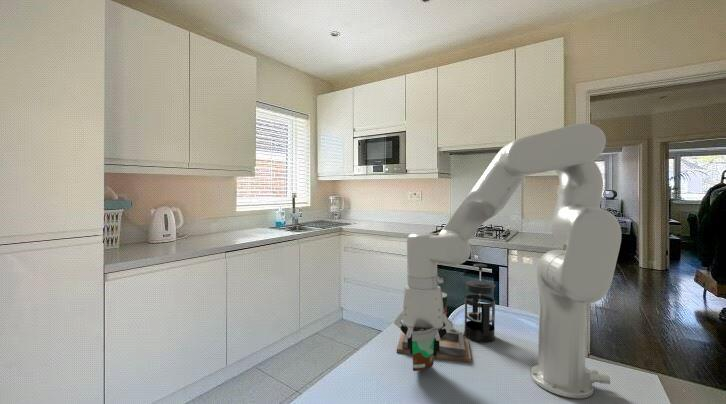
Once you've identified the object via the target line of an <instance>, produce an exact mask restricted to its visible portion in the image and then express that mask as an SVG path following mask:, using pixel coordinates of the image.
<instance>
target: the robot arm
mask: <svg viewBox="0 0 726 404" xmlns="http://www.w3.org/2000/svg"><path fill="white" fill-rule="evenodd" d="M606 143H607V138H606V135H605V133H604V131H603V130H602V129H601V128H600V127H599V126H597V125H595V124H592V123H588V122H580V123H575V124H570V125H566V126H563V127H559V128H555V129H551V130H547V131H543V132H540V133H536V134H535V133H534V134H531V135H527V136H522V137H519V138H516V139H514V140H513V141H511V142H509V143H507V144H506V145H504V146H503V147H502V148H501V149H500V150H499V151H498V152H497V154H496V155H495V156H494V157H493V159H492V161H491V162H490V163H489V165H488V166H487V168H486V169H485V170H484V172H483V174H482V175H481V176H480V178H479V179H478V181H476V183H475V185H474V186H473V188H472V189H471V190H470V192H469V193H468V194H467V196H466V197H465V198H464V200H463V201H462V202H461V204H460V205H459V206H458V208H457V209H456V210H455V211H454V213H453V214H452V215H451V217H450V218H449V219H448V221H447V222H446V224H445V225H444V227H442V229H441V230H440V232H439V234H438V235H435V234H434V233H429V232H414V233H409V234H408V236H407V238H406V262H407V265H406V266H407V269H406V271H407V272H406V273H407V284H405V285H404V291H403V297H402V298H403V300H402V310H401V312H400V313H399V314H398V315H397V316H396V317H395V319H394V322H393V324H394V325H395V326H397V328H399V329H400V331H401V333H402V332H403V333H404V334H405V335H406V337H407V338H408V349H410V354H409V355H413V349H412V331H413V328H414V327H416V328H428V329H431V328H433V327H434V329H436V331H437V335H436V336H435V340H434V356H436V357H437V352H439V340H440V339H441V338H442V337H443V336H444V335H445V334H446V333H447V332H449V331H452V330H453V329H454V324H453V322H452V321H451V319H449V318H448V317H447V316H448V315H447V316H446V315H445V314H444V313H443V298H442V292H443V291H442V288H441V286H440V285H439V284H441V285H443V284H444V277H439V276H438V264H445V265H451V266H459V265H461V264H463V263H465V262H466V261H468V260H469V258H470V257H471V252H472V251H471V250H472V249H471V245H470V243H469V241H470V240H471V238H472V237H473V235H474V234H475V233H476V232H477V230H478V229H479V228H480V227H481V226H482V225H483V224H484V223H485V222H487V221H488V220H490V219H492V218H493V217H495V216H497V215H498V214H499V213H500V212H501V211H502V210H503V209H504V208H505V207H506V205H507V203H508V202H509V201H510V199H511V198H512V196H513V195H514V194H515V192H516V191H517V190H518V188H519V187H520V186H521V184H522V182H523V181H524V180H525V179H526V177H527V176H531V175H537V174H540V173H541V174H542V173H546V172H547V173H548V172H551V171H552V172H553V171H555V173H556V174H557V177H558V183H559V186H558V194H557V197H556V201H555V202H556V203H555V207H554V212H553V215H552V220H551V227H550V231H551V234H552V236H553V237H554V239H555V240H556V241H558V242H559V243H561V244H563V245H566V247H565V250H564V249H553V250H549V251H547V252H545V253H544V254H543V255H542V256H541V257H540V258H539V260H538V262H537V266H536V277H537V285H538V296H539V301H538V302H539V303H538V304H539V305H538V306H539V308H538V309H539V310H538V311H539V312H538V346H537V347H538V349H537V350H538V351H537V353H538V354H537V360H538V361H537V364H536V365H534V366H532V367H531V368H530V377H531V379H532V380H533V381H534V383H536V385H538V386H539V387H541V388H542V389H544V390H546V391H548V392H549V393H553V394H555V395H558V396H561V397H563V398H565V397H566V398H570V399H586V398H589V397H591V396H592V395H593V394H594V385H593V384H595V383H600V384H605V385H610V384H611V378H610V375H609V374H603V373H599V372H598V369H594V368H587V367H586V351H587V350H586V349H587V348H586V347H587V346H586V345H587V319H588V317H587V316H588V314H587V305H588V304H589V305H590V304H594V303H597V302H599V301H600V300H602V299H603V298H604V297H605V296H606V295H607V293H608V292H609V290H610V288H611V285H612V282H613V278H614V275H615V274H614V273H615V270H616V265H617V261H618V257H619V253H620V249H621V244H622V228H621V224H620V223H619V221H618V219H617V218H616V216H615V215H614V214H613V213H611V212H610V211H608V210H606V209H604V208H601V202H602V196H603V188H604V179H603V175H602V171H601V170H600V168H599V166H598V164H597V163H596V162H595V159H597V158H598V157H599V156H600V155H601V154H602V153H603V151H604V150H605V147H606ZM443 322H444V323H445V324H446V326H445V327H443ZM440 328H441V329H440ZM439 329H440V330H439Z"/></svg>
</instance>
